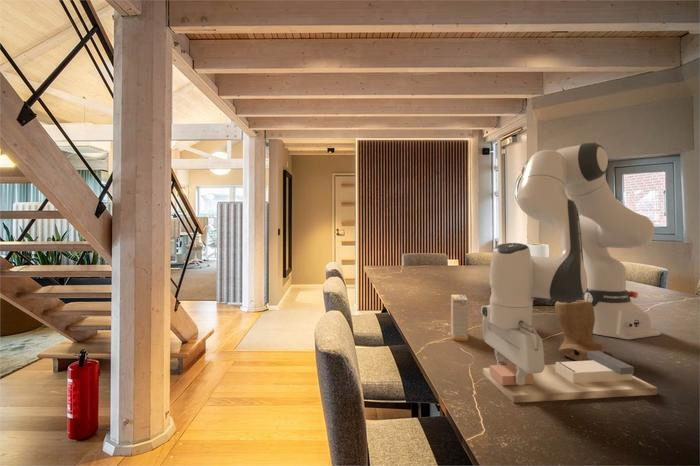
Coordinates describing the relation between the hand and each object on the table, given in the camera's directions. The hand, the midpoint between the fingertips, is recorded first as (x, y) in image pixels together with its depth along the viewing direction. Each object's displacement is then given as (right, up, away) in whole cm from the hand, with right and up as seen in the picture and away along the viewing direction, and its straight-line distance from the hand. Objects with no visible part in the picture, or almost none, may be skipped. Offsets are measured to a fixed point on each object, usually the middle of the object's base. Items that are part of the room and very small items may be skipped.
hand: (510, 376), depth 82 cm
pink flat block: (0, -1, 0) cm, 1 cm away
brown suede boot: (+27, -2, +19) cm, 34 cm away
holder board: (+13, -2, +1) cm, 13 cm away
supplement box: (-1, -1, +35) cm, 35 cm away
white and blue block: (+20, 0, +2) cm, 20 cm away
